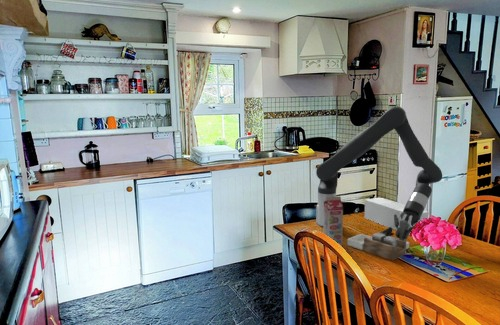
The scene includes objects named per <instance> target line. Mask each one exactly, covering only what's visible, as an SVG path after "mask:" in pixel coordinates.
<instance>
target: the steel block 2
mask: <svg viewBox="0 0 500 325" xmlns="http://www.w3.org/2000/svg"><path fill="white" fill-rule="evenodd" d="M398 239H399V238H397V237H394V236H391V235H389V236H388V237H386V238H384V244H387V245H391V246H394V247H395V249H396V248H398Z"/></svg>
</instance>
